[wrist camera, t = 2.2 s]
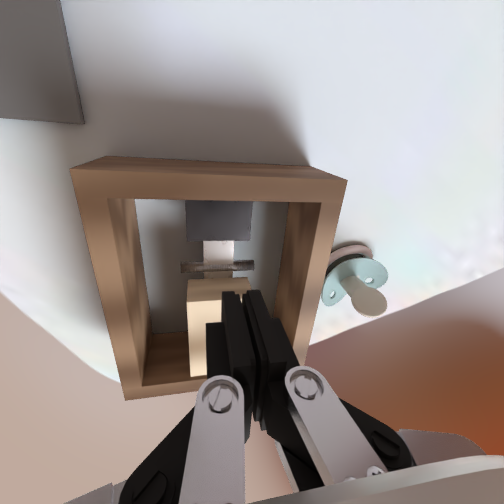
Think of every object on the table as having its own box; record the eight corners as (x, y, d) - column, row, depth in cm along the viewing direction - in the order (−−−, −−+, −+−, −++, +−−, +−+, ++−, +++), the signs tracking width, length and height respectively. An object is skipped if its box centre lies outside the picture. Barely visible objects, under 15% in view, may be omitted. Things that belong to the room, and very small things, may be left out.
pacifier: (306, 257, 26) (316, 300, 29) (335, 290, 20) (344, 340, 23) (371, 233, 26) (375, 278, 29) (417, 260, 21) (416, 313, 23)
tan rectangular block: (187, 279, 21) (186, 302, 18) (247, 277, 22) (254, 298, 19) (191, 349, 24) (190, 376, 22) (242, 344, 25) (247, 369, 23)
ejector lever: (177, 192, 18) (176, 196, 17) (257, 194, 19) (260, 198, 18) (186, 343, 25) (185, 352, 24) (245, 338, 26) (247, 346, 25)
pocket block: (106, 156, 18) (69, 168, 13) (310, 166, 21) (347, 180, 16) (139, 346, 27) (125, 400, 21) (282, 332, 30) (301, 377, 25)
